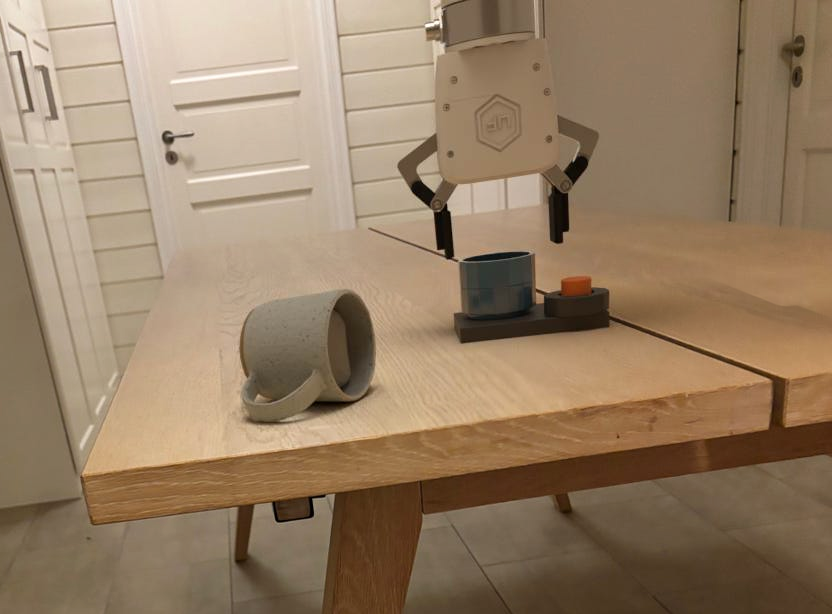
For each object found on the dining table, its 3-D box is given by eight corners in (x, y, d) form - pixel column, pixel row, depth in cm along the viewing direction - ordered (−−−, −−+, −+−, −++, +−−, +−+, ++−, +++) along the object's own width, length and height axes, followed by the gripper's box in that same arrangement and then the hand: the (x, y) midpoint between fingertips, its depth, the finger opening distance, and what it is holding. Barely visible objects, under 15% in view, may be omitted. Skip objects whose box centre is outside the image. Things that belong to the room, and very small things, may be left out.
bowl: (530, 304, 92) (529, 248, 90) (540, 315, 86) (539, 255, 84) (459, 312, 93) (456, 257, 90) (464, 323, 86) (461, 264, 84)
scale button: (588, 293, 86) (588, 275, 85) (593, 297, 84) (593, 278, 83) (559, 296, 86) (558, 278, 86) (563, 300, 84) (563, 281, 83)
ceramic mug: (290, 386, 77) (275, 286, 74) (382, 385, 73) (371, 280, 70) (218, 425, 69) (197, 314, 65) (317, 426, 65) (300, 309, 62)
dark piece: (592, 312, 92) (592, 279, 91) (614, 329, 84) (614, 293, 82) (454, 328, 93) (452, 295, 92) (461, 346, 85) (459, 310, 83)
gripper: (384, 40, 76) (408, 268, 84) (604, 4, 75) (608, 239, 82) (384, 50, 83) (406, 260, 91) (586, 17, 82) (592, 233, 89)
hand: (502, 250), depth 87 cm, fingers open, 9 cm apart
